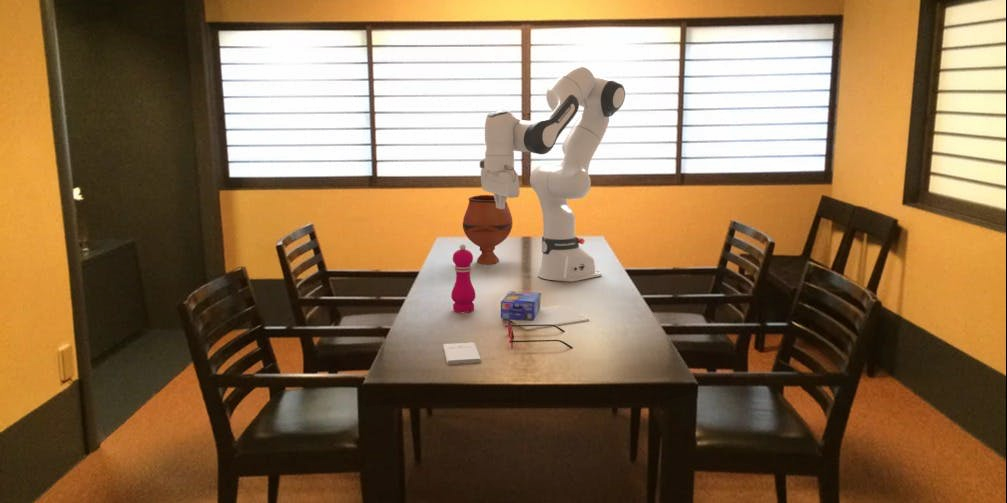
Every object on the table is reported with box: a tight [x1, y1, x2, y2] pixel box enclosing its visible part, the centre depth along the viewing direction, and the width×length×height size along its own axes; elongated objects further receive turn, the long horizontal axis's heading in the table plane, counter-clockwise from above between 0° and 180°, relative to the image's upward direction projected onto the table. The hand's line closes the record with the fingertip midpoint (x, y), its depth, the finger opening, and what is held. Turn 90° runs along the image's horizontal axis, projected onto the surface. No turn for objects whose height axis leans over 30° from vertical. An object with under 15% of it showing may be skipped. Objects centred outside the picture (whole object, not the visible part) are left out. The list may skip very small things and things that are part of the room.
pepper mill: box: [450, 243, 476, 313], centre depth 224 cm, size 7×7×20 cm
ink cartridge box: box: [500, 290, 542, 321], centre depth 218 cm, size 10×6×14 cm
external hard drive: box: [442, 341, 482, 365], centre depth 188 cm, size 2×8×12 cm
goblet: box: [462, 194, 513, 265], centre depth 287 cm, size 19×19×25 cm
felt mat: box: [508, 304, 590, 331], centre depth 218 cm, size 20×16×1 cm
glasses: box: [504, 319, 574, 349], centre depth 198 cm, size 14×16×5 cm
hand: (500, 208), depth 235 cm, fingers closed
